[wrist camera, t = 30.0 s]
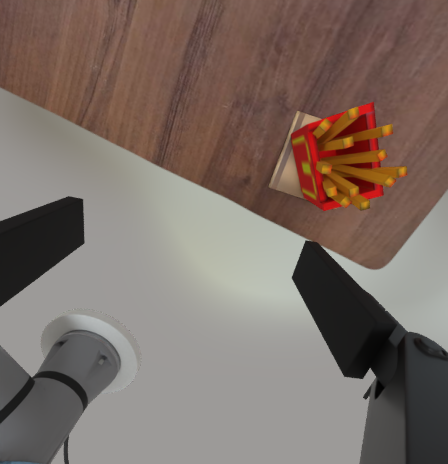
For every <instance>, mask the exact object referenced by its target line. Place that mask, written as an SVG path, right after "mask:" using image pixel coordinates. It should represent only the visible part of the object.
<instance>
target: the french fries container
mask: <svg viewBox="0 0 448 464" xmlns="http://www.w3.org/2000/svg"><path fill="white" fill-rule="evenodd" d="M390 134H393V128H392V124H390V125H386V126H382V127H378V128H376V119H375V110H374V102H372V103H369V104H366V105H363V106H360V107H356V108H353V109H350V110H348V111H345V112H342V113H339V114H336V115H333V116H330V117H327V118H324V119H321V120H318V121H315V122H312V123H310V124H307V125H305V126H304V127H302V128H300V129H299V130H297V131H295V132H293V133H292V134H291V138H292V140H291V144H292V148H293V153H294V158H295V163H296V168H297V172H298V177H299V182H300V187H301V192H303V196H304V198H305V199H307V200H308V201H310V202H311V203H313V204H314V205H316V206H317V207H319V208H320V209H322V210H323V211H326V210H329V209H333V208H337V207H341V206H344V207H345V208H346V207H348V206H349V205H350V204H353V205H354V206H356V207H357V208H358V209H360V210H361V211H362V210H366V209H369V208H370V201H369V200H368V199H371V198H375V197H379V196H383V195H384V194H383V186H386V187H391V186H392V185H393V184H394V183H395V182H396V179H394V178H400V177H403V176H406V175H407V166H403V167H381V166H380V161H382V160H383V159H385V158H386V157H387V154H386V152H385V149H383V150H379V147H378V138H379V137H384V136H387V135H390Z"/></svg>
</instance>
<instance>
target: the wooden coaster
mask: <svg viewBox="0 0 448 464" xmlns="http://www.w3.org/2000/svg"><path fill="white" fill-rule="evenodd" d="M318 120H321V119H320V118H317V117H314V116H311V115H308V114H306V113H303V112H299V111H297V112H296V114H295V117H294V119H293V122H292V125H291V127H290V130H289V133H288V135H287V138H286V141H285V143H284V146H283V149H282V151H281V154H280V156H279V159H278V162H277V164H276V167H275V170H274V172H273V175H272V178H271V180H270V183H269V185H268V187H269V188H272V189H275V190H278V191H281V192H284V193H287V194H290V195H293V196H296V197H299V198H302V199H305V198H304V196H303V192H301V187H300V182H299V177H298V172H297V168H296V163H295V158H294V153H293V148H292V144H291V140H292V138H291V134H292V133H293V132H295V131H297V130H299V129H300V128H302V127H304V126H305V125H307V124H310V123H312V122H315V121H318ZM305 200H307V199H305ZM333 209H335V210H336V208H333Z"/></svg>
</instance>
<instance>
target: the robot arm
mask: <svg viewBox="0 0 448 464" xmlns="http://www.w3.org/2000/svg"><path fill="white" fill-rule="evenodd" d="M83 244H84V216H83V199H80V198H74V197H69V196H68V197H66V198H63V199H60V200H58V201H55V202H52V203H49V204H46V205H44V206H41V207H38V208H35V209H33V210H30V211H27V212H24V213H22V214H19V215H16V216H13V217H11V218H8V219H5V220H3V221H0V306H2V305H3V304H4V303H5V302H7V301H8V300H9V299H11V298H12V297H14V296H15V295H16V294H18V293H19V292H20V291H22V290H23V289H24V288H26V287H27V286H28V285H30V284H31V283H32V282H34V281H35V280H36V279H38V278H39V277H40V276H41V275H43V274H44V273H45V272H47V271H48V270H49V269H51V268H52V267H53V266H55V265H56V264H57V263H59V262H60V261H61V260H63V259H64V258H65V257H67V256H68V255H69V254H70V253H72V252H73V251H74V250H76V249H77V248H79V247H80V246H81V245H83ZM292 279H293V281H294V283H295V285H296V287H297V289H298V291H299V292H300V294H301V296H302V298H303V300H304V302H305V304H306V306H307V308H308V309H309V311H310V313H311V315H312V317H313V319H314V321H315V323H316V325H317V326H318V328H319V330H320V332H321V334H322V336H323V338H324V340H325V341H326V343H327V345H328V347H329V349H330V351H331V353H332V355H333V356H334V358H335V360H336V362H337V364H338V366H339V367H340V369H341V371H342V373H343V375H344V377H351V378H359V379H363V378H364V376H365V375H366V373H367V372H368V370H369V368H371V370H372V371H373V372H374V374H375V376H376V379H375V380H374V381H373V383H372V384H371V386H370V387H369V389H368V390H367V392H366V393H365V395H364V397H363V398H365V399H367V398H368V396H370V400H369V406H368V412H367V419H366V426H365V431H364V439H363V444H362V451H361V457H360V464H448V353H447V352H446V351H445V350H444V349H443V348H442V347H441V346H439V345H438V344H437V343H435V342H434V341H432V340H430V339H429V338H427V337H425V336H423V335H420V334H418V333H413V332H407V331H406V330H405V329H404V328H403V327H402V326H401V325H400V324H399V323H398V321H396V320H395V318H394V317H392V316H391V314H389V312H388V311H385V308H383V307H382V305H381V304H379V302H378V301H377V300H376V299H375V298H374V297H373V296H372V295H371V294H369V293H368V292H366V291H365V290H363V289H362V288H361V287H360V286H359V285H358V284H357V283H356V282H355V281H354V280H353V278H352V277H351V276H350V275H349V274H348V273H347V272H346V271H345V270H344V269H343V268H342V267H341V266H340V265H339V264H338V263H337V262H336V261H335V260H334V259H333V258H332V257H331V256H330V255H329V254H328V253H327V252H326V251H325V250H324V249H323V248H322V247H321V246H320V245H319V244H318V243H317V242H312V241H305V244H304V246H303V249H302V252H301V254H300V257H299V260H298V262H297V265H296V268H295V270H294V273H293V276H292ZM120 366H121V360H120V356H119V354H118V352H117V350H116V349H115V347H114V346H113V345H112V344H111V343H110V342H109V341H108V340H107V339H105V338H104V337H102V336H101V335H99V334H97V333H94V332H91V331H87V330H72V331H69V332H67V333H65V334H63V335H62V336H61V337H60V338H59V339H58V340H57V341H56V342H55V343H54V345H53V346H52V348H51V349H50V351H49V353H48V355H47V356H46V358H45V360H44V362H43V363H42V365H41V367H40V369H39V370H38V372H37V373H36V374H35V376H33V377H31V376H30V375H29V374H28V373H27V372H26V371H25V370H24V369H23V368H22V367H21V366H20V365H19V364H18V363H17V362H16V361H15V360H14V359H13V358H12V357H11V356H10V355H9V354H8V353H7V352H6V351H5V350H4V349H3V348H2V347H1V346H0V464H50V463H51V462H52V460H53V459H54V457H55V456H56V454H57V452H58V451H59V449H60V448H61V446H62V445H63V443H64V462H65V464H69V461H68V438H69V434H70V432H71V430H72V429H73V427H74V426H75V424H76V423H77V421H78V420H79V418H80V416H81V415H82V413H83V412H84V410H85V408H86V407H87V406H88V404H89V403H90V402H91V401H92V400H93V399H95V398H96V397H97V396H98V395H99V394H100V393H101V392H102V391H103V390H104V389H105V388H106V387H107V386H109V385H110V384H111V382H112V381H113V380H114V379H115V377H116V376H117V374H118V372H119V370H120Z"/></svg>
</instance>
